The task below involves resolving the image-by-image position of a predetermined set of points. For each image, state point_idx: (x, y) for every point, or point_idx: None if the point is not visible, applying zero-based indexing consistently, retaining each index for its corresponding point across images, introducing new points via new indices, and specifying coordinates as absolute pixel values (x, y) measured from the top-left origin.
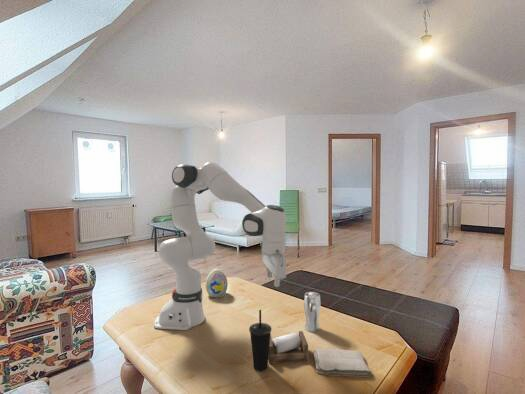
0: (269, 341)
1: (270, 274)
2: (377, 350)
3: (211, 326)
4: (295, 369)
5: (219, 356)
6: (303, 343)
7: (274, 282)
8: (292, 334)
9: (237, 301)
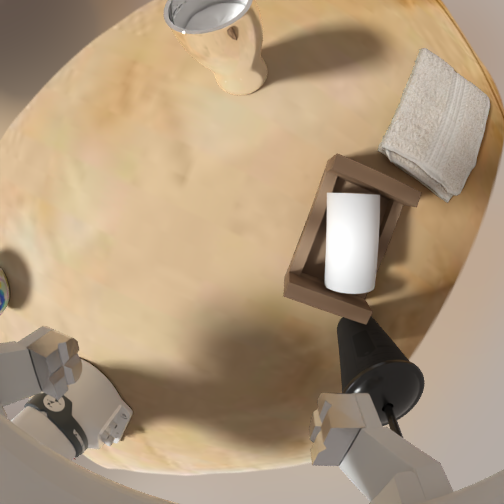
0: (398, 348)
1: (58, 367)
2: (409, 8)
3: (123, 365)
4: (411, 246)
5: (263, 396)
6: (410, 202)
7: (332, 458)
8: (359, 216)
9: (24, 248)
